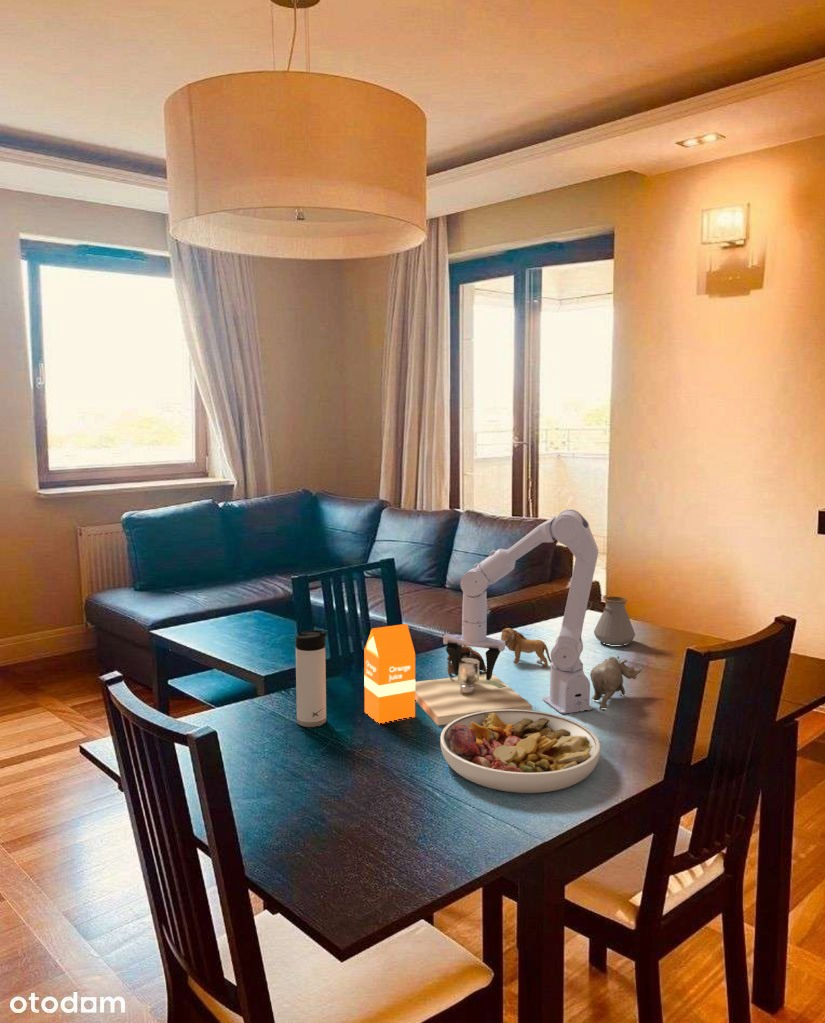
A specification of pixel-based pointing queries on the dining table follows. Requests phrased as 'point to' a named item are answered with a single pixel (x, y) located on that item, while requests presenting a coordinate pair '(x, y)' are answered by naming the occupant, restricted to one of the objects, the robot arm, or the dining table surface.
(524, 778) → the bowl
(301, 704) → the travel mug
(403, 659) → the orange juice
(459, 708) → the wooden board
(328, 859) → the dining table surface
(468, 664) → the beige shiny cylinders
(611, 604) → the coffee pot
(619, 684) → the rhino figurine
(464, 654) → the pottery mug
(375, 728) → the dining table surface
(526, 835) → the dining table surface
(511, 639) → the lion figurine
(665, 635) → the dining table surface
